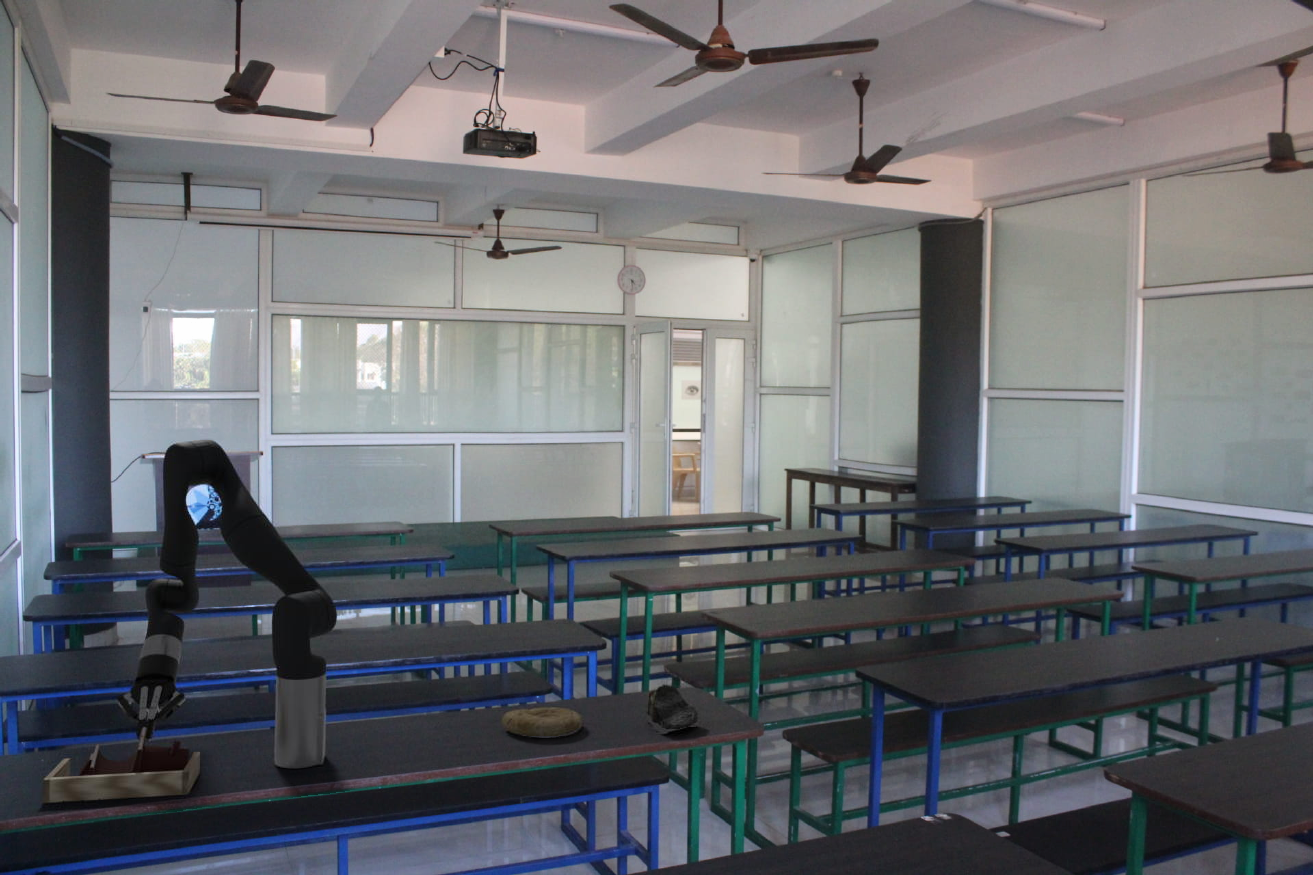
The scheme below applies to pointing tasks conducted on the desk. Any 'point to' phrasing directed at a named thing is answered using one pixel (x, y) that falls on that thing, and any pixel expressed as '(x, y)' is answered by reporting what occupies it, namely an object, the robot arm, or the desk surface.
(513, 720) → the brown thick ring
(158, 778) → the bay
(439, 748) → the desk surface
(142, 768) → the bracket
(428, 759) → the desk surface
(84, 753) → the desk surface
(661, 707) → the rock
